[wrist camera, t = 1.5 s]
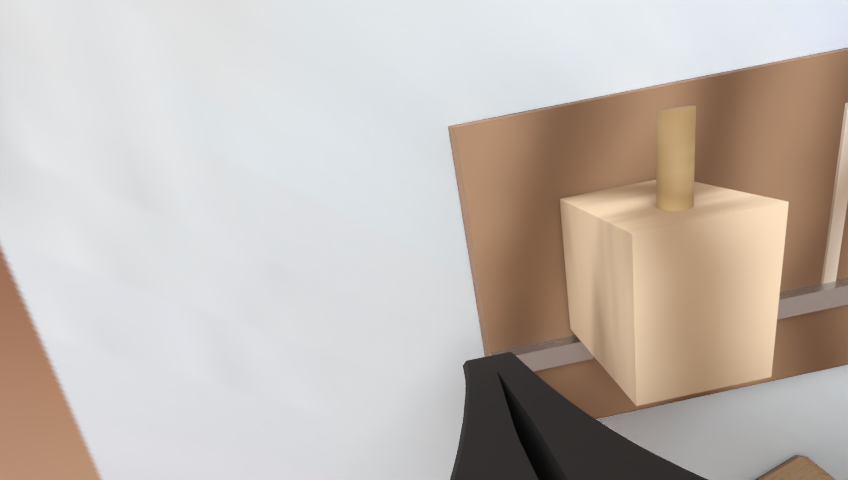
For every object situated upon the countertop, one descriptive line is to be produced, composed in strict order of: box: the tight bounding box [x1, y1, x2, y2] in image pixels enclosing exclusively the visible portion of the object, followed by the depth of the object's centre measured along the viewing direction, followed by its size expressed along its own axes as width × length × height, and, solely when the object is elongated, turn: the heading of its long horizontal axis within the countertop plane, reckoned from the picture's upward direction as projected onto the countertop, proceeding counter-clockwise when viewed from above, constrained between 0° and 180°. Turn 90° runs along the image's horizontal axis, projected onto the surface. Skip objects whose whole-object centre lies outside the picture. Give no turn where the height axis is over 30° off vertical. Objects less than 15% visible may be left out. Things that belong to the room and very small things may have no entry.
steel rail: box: [490, 277, 848, 371], centre depth 18 cm, size 20×1×1 cm, turn 100°
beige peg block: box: [560, 106, 789, 406], centre depth 14 cm, size 5×9×5 cm, turn 10°
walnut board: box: [448, 48, 848, 419], centre depth 18 cm, size 20×15×2 cm
